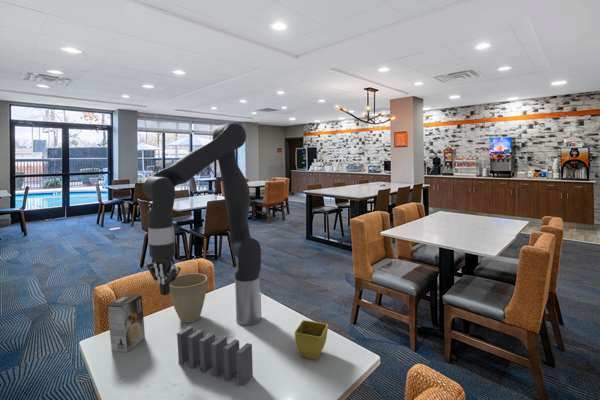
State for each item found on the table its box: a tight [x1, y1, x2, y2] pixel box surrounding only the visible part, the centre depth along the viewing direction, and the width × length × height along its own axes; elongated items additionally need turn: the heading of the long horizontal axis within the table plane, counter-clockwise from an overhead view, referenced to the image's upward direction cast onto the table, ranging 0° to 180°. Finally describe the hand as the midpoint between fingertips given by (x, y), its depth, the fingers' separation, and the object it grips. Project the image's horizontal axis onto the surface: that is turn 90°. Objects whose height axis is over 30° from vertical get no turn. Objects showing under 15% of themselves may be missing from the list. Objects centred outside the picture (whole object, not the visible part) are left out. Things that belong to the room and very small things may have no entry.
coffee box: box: [106, 293, 146, 353], centre depth 113 cm, size 9×6×16 cm
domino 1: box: [176, 325, 194, 366], centre depth 104 cm, size 5×2×10 cm, turn 153°
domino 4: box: [211, 335, 228, 379], centre depth 98 cm, size 5×2×10 cm, turn 153°
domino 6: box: [236, 342, 254, 387], centre depth 94 cm, size 5×2×10 cm, turn 153°
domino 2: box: [188, 328, 205, 370], centre depth 102 cm, size 5×2×10 cm, turn 153°
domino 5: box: [224, 338, 240, 383], centre depth 96 cm, size 5×2×10 cm, turn 153°
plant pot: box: [169, 273, 208, 323], centre depth 132 cm, size 15×15×16 cm
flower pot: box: [294, 319, 329, 361], centre depth 107 cm, size 9×9×9 cm
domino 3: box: [199, 332, 216, 374], centre depth 100 cm, size 5×2×10 cm, turn 153°
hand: (165, 294), depth 106 cm, fingers closed
